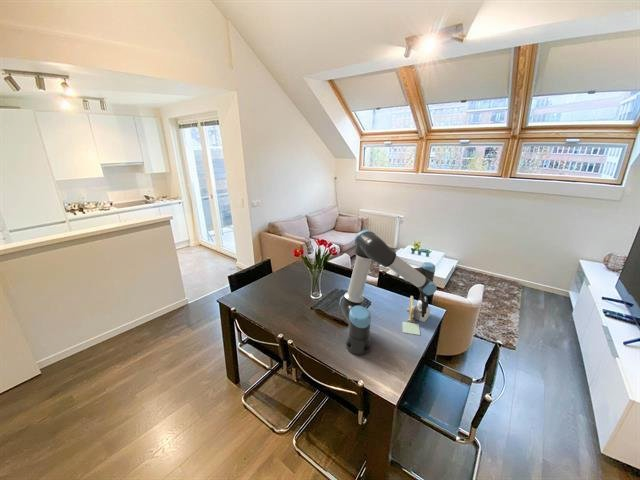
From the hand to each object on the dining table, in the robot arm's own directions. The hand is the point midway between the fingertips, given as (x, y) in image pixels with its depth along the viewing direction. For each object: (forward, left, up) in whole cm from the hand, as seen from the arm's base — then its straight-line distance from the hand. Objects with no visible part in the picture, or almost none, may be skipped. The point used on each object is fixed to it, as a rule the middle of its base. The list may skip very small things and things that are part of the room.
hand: (421, 315), depth 175 cm
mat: (-7, -13, -2) cm, 15 cm away
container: (0, 0, -2) cm, 2 cm away
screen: (-6, 0, -2) cm, 7 cm away
